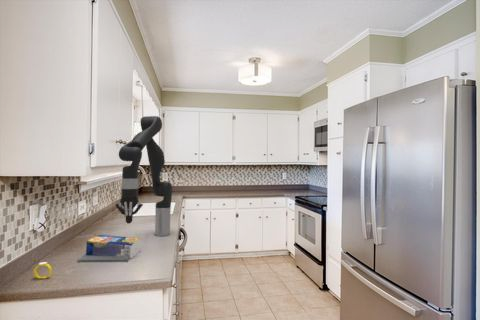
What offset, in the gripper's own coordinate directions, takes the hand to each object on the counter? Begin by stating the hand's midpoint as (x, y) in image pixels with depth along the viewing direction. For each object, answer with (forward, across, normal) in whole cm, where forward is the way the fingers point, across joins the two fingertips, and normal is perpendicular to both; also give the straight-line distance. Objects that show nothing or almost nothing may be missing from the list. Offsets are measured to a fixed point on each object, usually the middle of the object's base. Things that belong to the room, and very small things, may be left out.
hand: (128, 223), depth 137 cm
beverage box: (+13, -4, -1) cm, 13 cm away
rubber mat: (+16, +9, 0) cm, 18 cm away
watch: (+16, +25, +25) cm, 39 cm away
